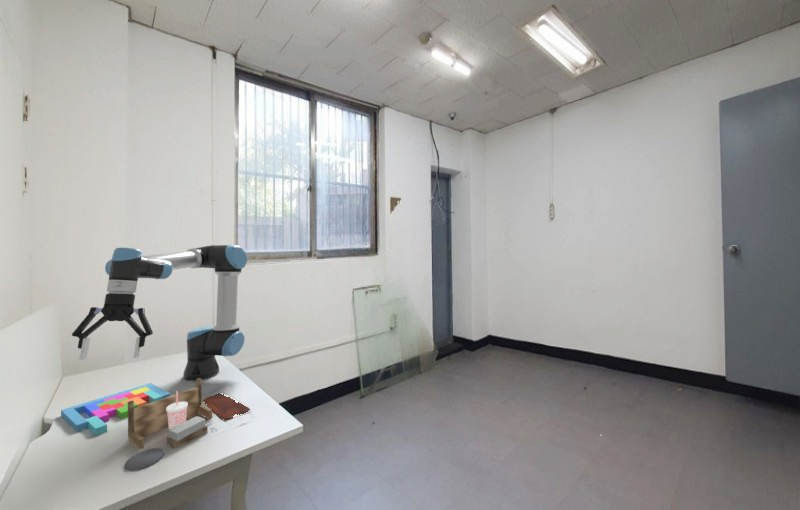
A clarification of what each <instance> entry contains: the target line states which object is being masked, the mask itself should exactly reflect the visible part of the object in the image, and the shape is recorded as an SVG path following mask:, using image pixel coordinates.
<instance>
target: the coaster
mask: <svg viewBox="0 0 800 510" xmlns="http://www.w3.org/2000/svg"><path fill="white" fill-rule="evenodd" d="M164 455H165V450H164V449H162V448H160V447H158V448H157V447H156V448H155V447H154V448H149V449H144V450H142V451H139V452H137V453H135V454H133V455H132V456H130V457H129V458H128V459H127V460H126V461H125V463H124V468H125V470H127V471H138V470H143V469H146V468H149V467H151V466H153V465H155V464H156V463H158V462H159V461H160V460H162V458H164Z"/></svg>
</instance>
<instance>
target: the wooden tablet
mask: <svg viewBox="0 0 800 510" xmlns="http://www.w3.org/2000/svg"><path fill="white" fill-rule="evenodd" d="M217 393H218V394H217ZM217 393H215V394H212V395H213V396H212V395H211V396H207V397H205V398H203V399H204V400H203V399H202V402H203V401H204V402H205V404H207V406H206V407H208V408H210V409H212V412H214V413H215V414H216V415H217V414H218V415H219V416H220V419H222V420H223V419H224V421H225V420H228V421H230V420H232V419H231V418H233V416H234V415H235V414H237V415H238V414H239V415H240V414H244V413H246V412H248V411H249V410H251V409H250V408H249V407H248V406H247V405H246V406H247V407H246V406H244V405H245V404H244V403H243V404H244V405H243V404H241V403H242V402H241V403H239V402H240V401H239V402H238V403H236V402H235V400H233V399H231V398H230V397H231V396H230V397H226V396H224V394H223V395H222V394H220V393H221V392H217ZM205 404H204V405H205ZM218 415H217V416H218ZM244 415H245V414H244ZM219 416H218V417H219ZM240 416H241V415H240ZM229 419H230V420H229ZM233 419H234V418H233Z"/></svg>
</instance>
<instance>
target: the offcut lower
mask: <svg viewBox="0 0 800 510" xmlns="http://www.w3.org/2000/svg"><path fill="white" fill-rule="evenodd" d="M207 433H208V426H207V425H205V427H203V428H201V429H199V430H198V431H196V432H194V433H192V434H190V435H188V436H186V437H184V438H182V439H180V440H178V441H176V440H174V439H171V438H169V435H168V436H167V437H166V444H167V445H169V446H170V447H171V448H173V449H177V448H178V447H180V446H183V445H184V444H186V443H189V442H191V441H192V440H195V439H197V438H199V437H200V436H203V435H206V434H207Z"/></svg>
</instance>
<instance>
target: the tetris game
mask: <svg viewBox="0 0 800 510" xmlns="http://www.w3.org/2000/svg"><path fill="white" fill-rule="evenodd" d="M169 396H172V394H171V393H170V392H169V391H166V390H165V389H163V388H161V387H159V386H157V385H155V384H153V383H151V382H150V383H146V384H142V385H139V386H135V387H133V388H129V389H126V390H122V391H120V392H117V393H113V394H109V395H107V396H103V397H99V398H96V399H94V400H89V401H86V402H83V403H79V404H77V405H74V406H73V405H72V406H69V407H66V408H63V409H61V410H60V416H61V418H62V419H64V420H65V422H66V421H67V422H68V423H69V424H70V425H71V426H72V427H73V428H74V429H75V430H76V431H78V430H81V431H83V430H82V429H84V430H86V429H85V428H87V429H88V430H90V432H92V433H93V434H94V436H99V435H100V434H101V435H102V434H104V433H106V432H108V424H107V423H106V422H109V421H110V418H112V417H114V416H116V417H118V418H120V420H124V419H126V418H127V419H128V402H129V401H134V409H135V408H138V407H141V406H143V405H146V404H147V402H149V403H152V402H155V401H158V400H161V399H163V398H166V397H169ZM80 413H85V414H86V415H88V417H87V418H84V416H82V415H81V414H80ZM67 422H66V423H67ZM68 423H67V424H68ZM69 424H68V425H69ZM71 426H70V427H71ZM72 427H71V428H72ZM73 428H72V429H73ZM74 429H73V430H74ZM75 430H74V431H75ZM76 431H75V432H76ZM78 432H79V431H78Z"/></svg>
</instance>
